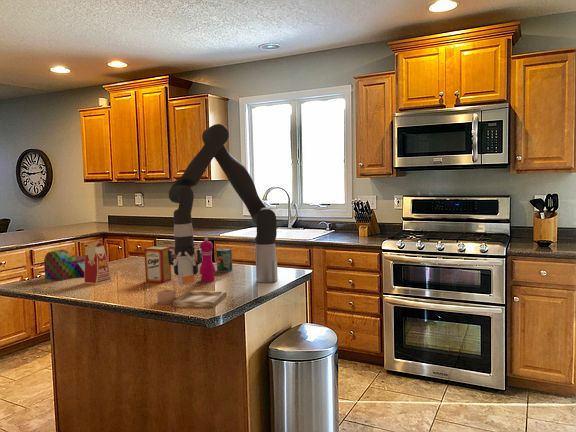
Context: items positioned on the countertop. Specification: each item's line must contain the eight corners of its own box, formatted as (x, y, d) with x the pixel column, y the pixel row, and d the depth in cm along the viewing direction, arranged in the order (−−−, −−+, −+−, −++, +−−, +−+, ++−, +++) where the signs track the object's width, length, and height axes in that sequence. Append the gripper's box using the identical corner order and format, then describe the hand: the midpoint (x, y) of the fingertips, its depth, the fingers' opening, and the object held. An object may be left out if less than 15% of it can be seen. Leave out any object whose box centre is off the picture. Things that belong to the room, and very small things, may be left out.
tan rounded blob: (179, 300, 192) (178, 290, 191) (171, 304, 185) (171, 294, 185) (162, 299, 193) (161, 289, 193) (154, 304, 186) (154, 294, 186)
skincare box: (181, 286, 196) (179, 257, 195) (178, 284, 200) (176, 255, 199) (195, 284, 199) (193, 255, 198) (192, 282, 203) (190, 253, 202)
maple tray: (226, 296, 195) (226, 291, 195) (213, 307, 179) (213, 302, 179) (188, 295, 198) (188, 290, 198) (172, 306, 182) (172, 301, 182)
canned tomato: (235, 269, 250) (234, 248, 249) (225, 272, 244) (224, 250, 243) (223, 268, 255) (222, 247, 254) (213, 271, 248) (212, 249, 247)
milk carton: (111, 280, 231) (109, 239, 229) (96, 285, 223) (94, 241, 221) (97, 279, 235) (95, 238, 233) (82, 283, 227) (79, 241, 225)
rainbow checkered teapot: (71, 281, 233) (69, 252, 232) (45, 279, 239) (43, 251, 238) (109, 271, 256) (107, 244, 254) (84, 269, 262) (83, 243, 261)
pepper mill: (212, 282, 222) (210, 238, 221) (197, 281, 224) (195, 238, 222) (217, 278, 230) (216, 236, 228) (203, 278, 231) (201, 236, 229)
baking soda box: (171, 280, 229) (169, 246, 228) (163, 283, 223) (161, 248, 222) (154, 279, 233) (152, 245, 231) (146, 282, 226) (144, 247, 225)
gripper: (203, 233, 200) (206, 272, 202) (170, 233, 203) (173, 272, 204) (197, 235, 193) (199, 276, 194) (163, 236, 195) (166, 276, 197)
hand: (186, 274), depth 199 cm, fingers closed on skincare box, 7 cm apart
